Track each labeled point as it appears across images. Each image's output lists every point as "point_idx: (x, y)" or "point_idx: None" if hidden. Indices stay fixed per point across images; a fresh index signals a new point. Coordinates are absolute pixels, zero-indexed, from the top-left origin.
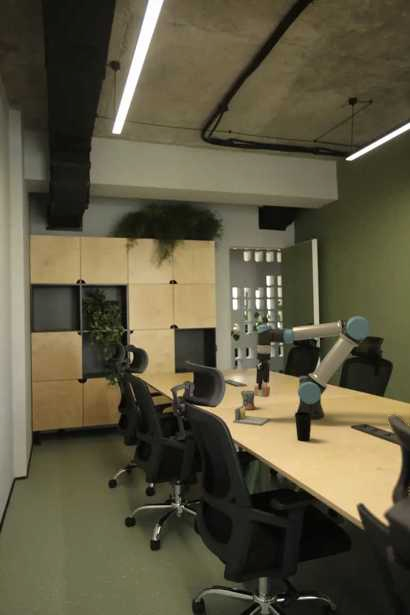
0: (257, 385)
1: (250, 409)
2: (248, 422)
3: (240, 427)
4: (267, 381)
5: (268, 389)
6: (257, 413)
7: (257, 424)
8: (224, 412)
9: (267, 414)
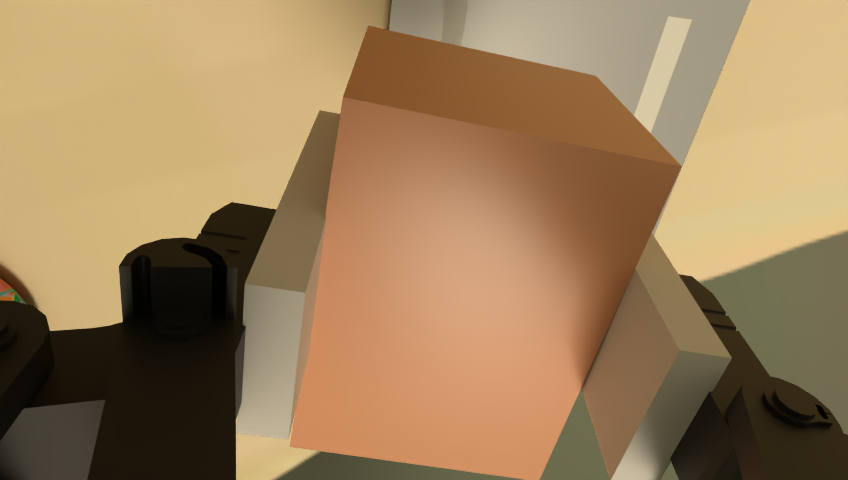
0: (362, 452)
1: (3, 281)
2: (687, 150)
3: (817, 184)
4: (207, 317)
5: (461, 97)
6: (109, 173)
7: (728, 33)
8: (238, 438)
9: (89, 43)
